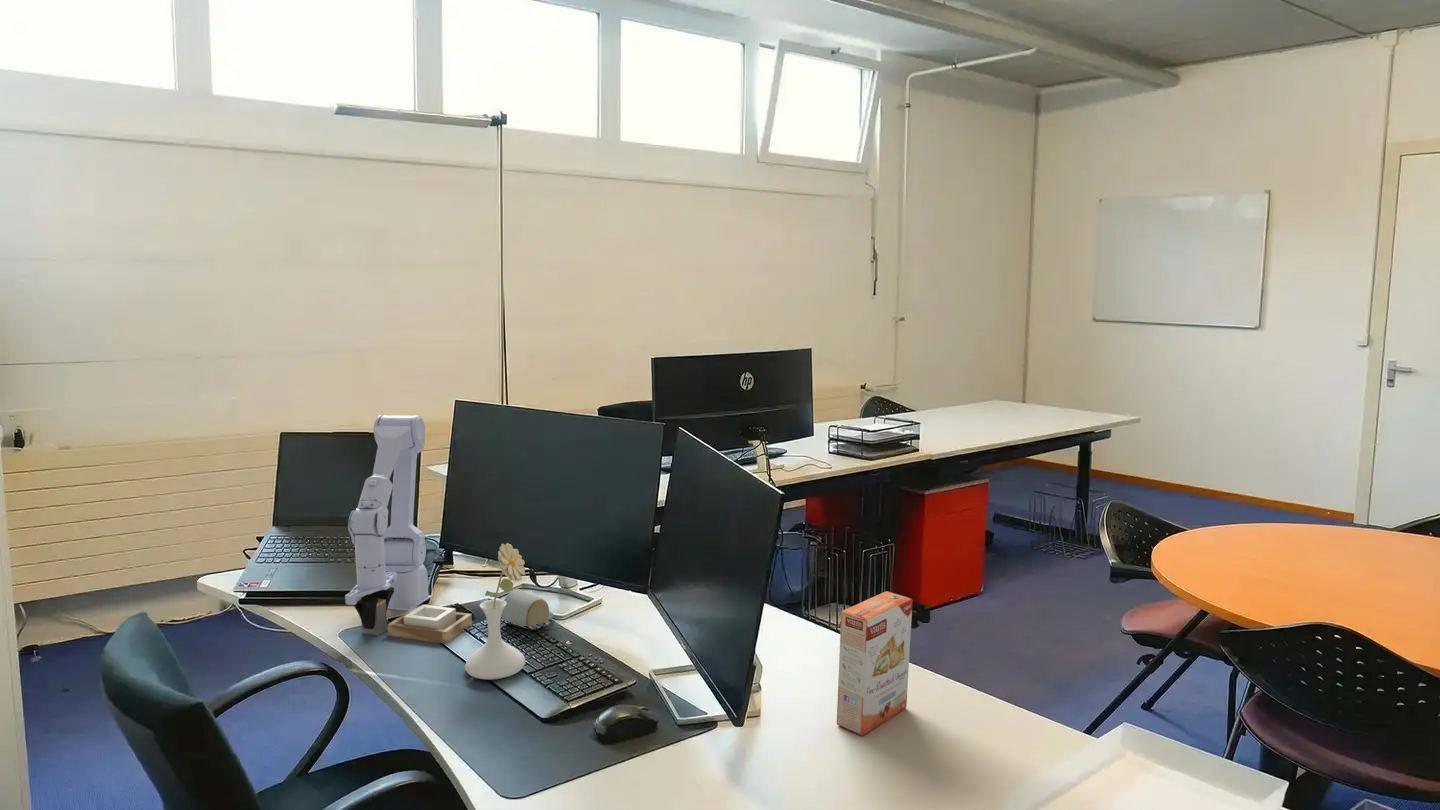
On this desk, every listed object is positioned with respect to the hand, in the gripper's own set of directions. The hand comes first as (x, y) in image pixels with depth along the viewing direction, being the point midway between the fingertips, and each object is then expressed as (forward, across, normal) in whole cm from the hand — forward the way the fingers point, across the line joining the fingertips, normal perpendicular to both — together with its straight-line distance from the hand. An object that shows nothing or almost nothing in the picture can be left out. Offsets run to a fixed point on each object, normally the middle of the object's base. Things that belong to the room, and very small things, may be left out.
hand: (374, 624), depth 190 cm
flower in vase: (+2, -8, -34) cm, 35 cm away
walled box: (+2, +4, -11) cm, 12 cm away
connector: (+2, 0, 0) cm, 2 cm away
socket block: (+2, +4, -11) cm, 12 cm away
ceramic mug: (+2, +14, -29) cm, 33 cm away
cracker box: (+2, -6, -106) cm, 106 cm away
